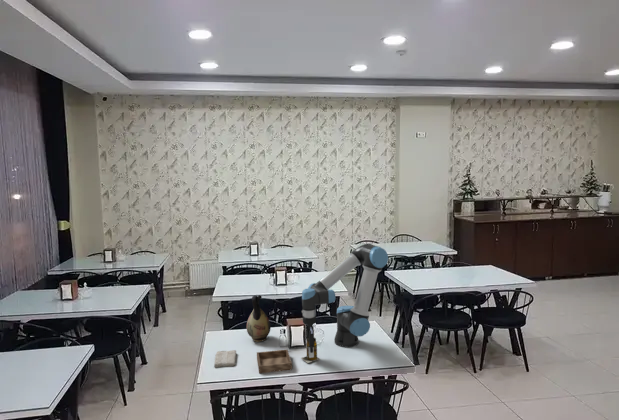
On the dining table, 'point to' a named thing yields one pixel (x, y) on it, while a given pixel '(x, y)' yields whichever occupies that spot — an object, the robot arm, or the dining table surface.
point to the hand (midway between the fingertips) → (310, 354)
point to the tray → (274, 361)
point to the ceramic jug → (258, 322)
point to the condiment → (308, 352)
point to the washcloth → (225, 358)
